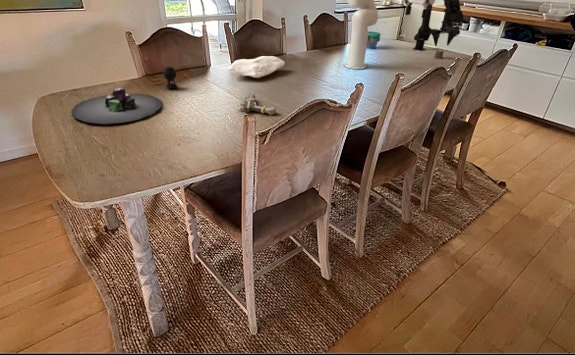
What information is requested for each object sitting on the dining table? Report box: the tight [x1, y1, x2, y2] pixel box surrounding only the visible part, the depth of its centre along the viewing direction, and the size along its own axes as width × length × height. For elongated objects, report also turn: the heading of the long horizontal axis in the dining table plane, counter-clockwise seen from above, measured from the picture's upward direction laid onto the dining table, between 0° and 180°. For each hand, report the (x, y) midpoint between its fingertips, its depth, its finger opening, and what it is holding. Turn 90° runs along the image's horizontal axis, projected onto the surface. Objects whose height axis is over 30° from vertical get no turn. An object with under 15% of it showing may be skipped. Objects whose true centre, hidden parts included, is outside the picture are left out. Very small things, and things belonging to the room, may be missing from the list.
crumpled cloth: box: [227, 55, 286, 79], centre depth 196 cm, size 24×35×9 cm
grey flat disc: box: [70, 86, 163, 125], centre depth 150 cm, size 35×35×9 cm
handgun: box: [239, 93, 277, 116], centre depth 158 cm, size 3×18×15 cm
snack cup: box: [366, 31, 381, 49], centre depth 259 cm, size 16×10×10 cm
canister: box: [434, 49, 445, 60], centre depth 243 cm, size 5×5×5 cm
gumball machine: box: [161, 66, 179, 90], centre depth 173 cm, size 7×6×10 cm
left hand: (415, 16), depth 184 cm, fingers open, 9 cm apart
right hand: (441, 45), depth 240 cm, fingers open, 9 cm apart
